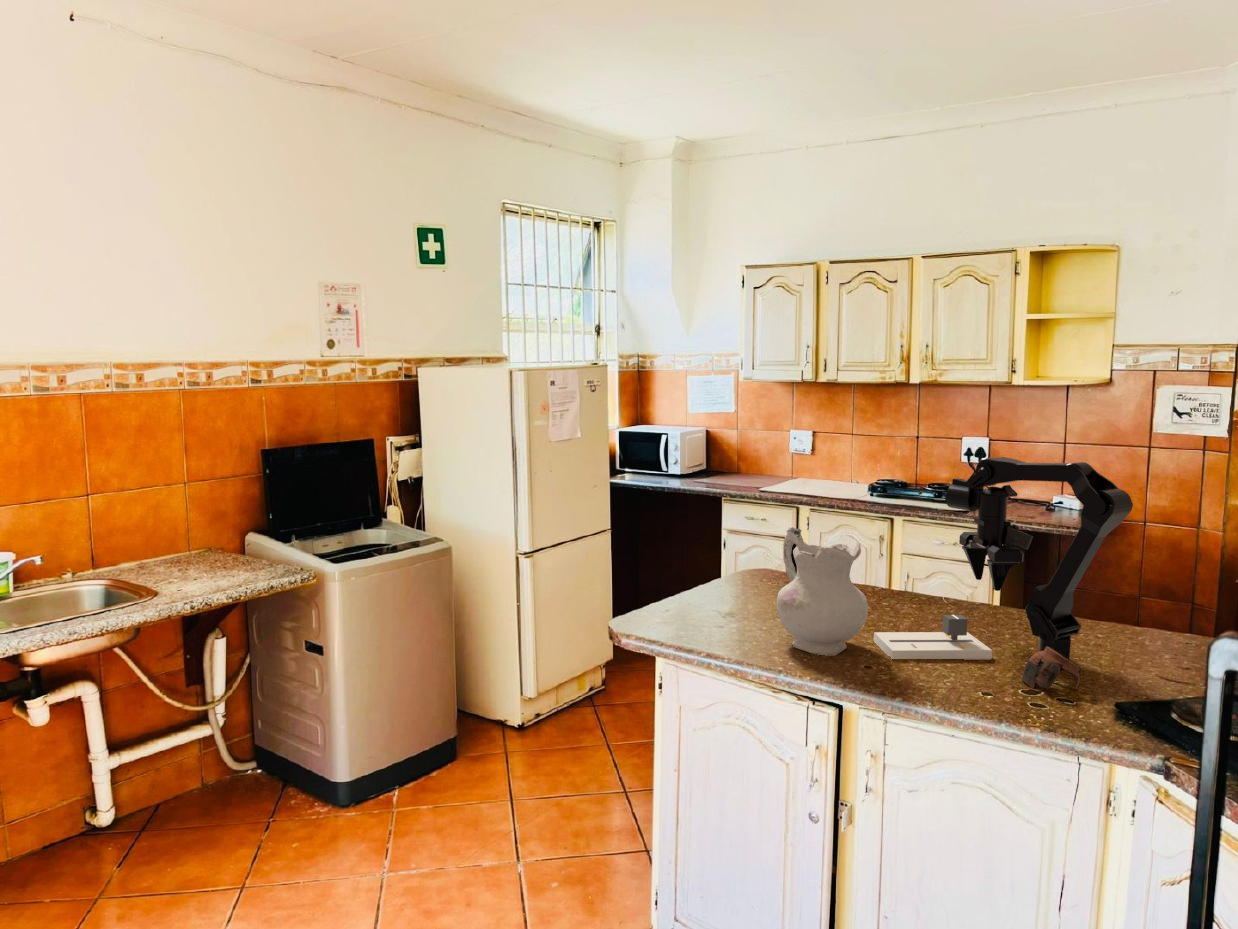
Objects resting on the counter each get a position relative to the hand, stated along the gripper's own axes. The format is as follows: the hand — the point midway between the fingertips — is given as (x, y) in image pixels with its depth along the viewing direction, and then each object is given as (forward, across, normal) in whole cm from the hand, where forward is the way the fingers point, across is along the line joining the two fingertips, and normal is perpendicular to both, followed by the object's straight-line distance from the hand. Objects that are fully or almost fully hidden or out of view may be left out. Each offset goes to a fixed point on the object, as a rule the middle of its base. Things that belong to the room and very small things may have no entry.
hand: (987, 585), depth 193 cm
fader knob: (+11, -5, +9) cm, 15 cm away
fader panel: (+13, -5, +14) cm, 20 cm away
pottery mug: (+13, -26, -1) cm, 29 cm away
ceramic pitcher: (+13, -1, +38) cm, 40 cm away
